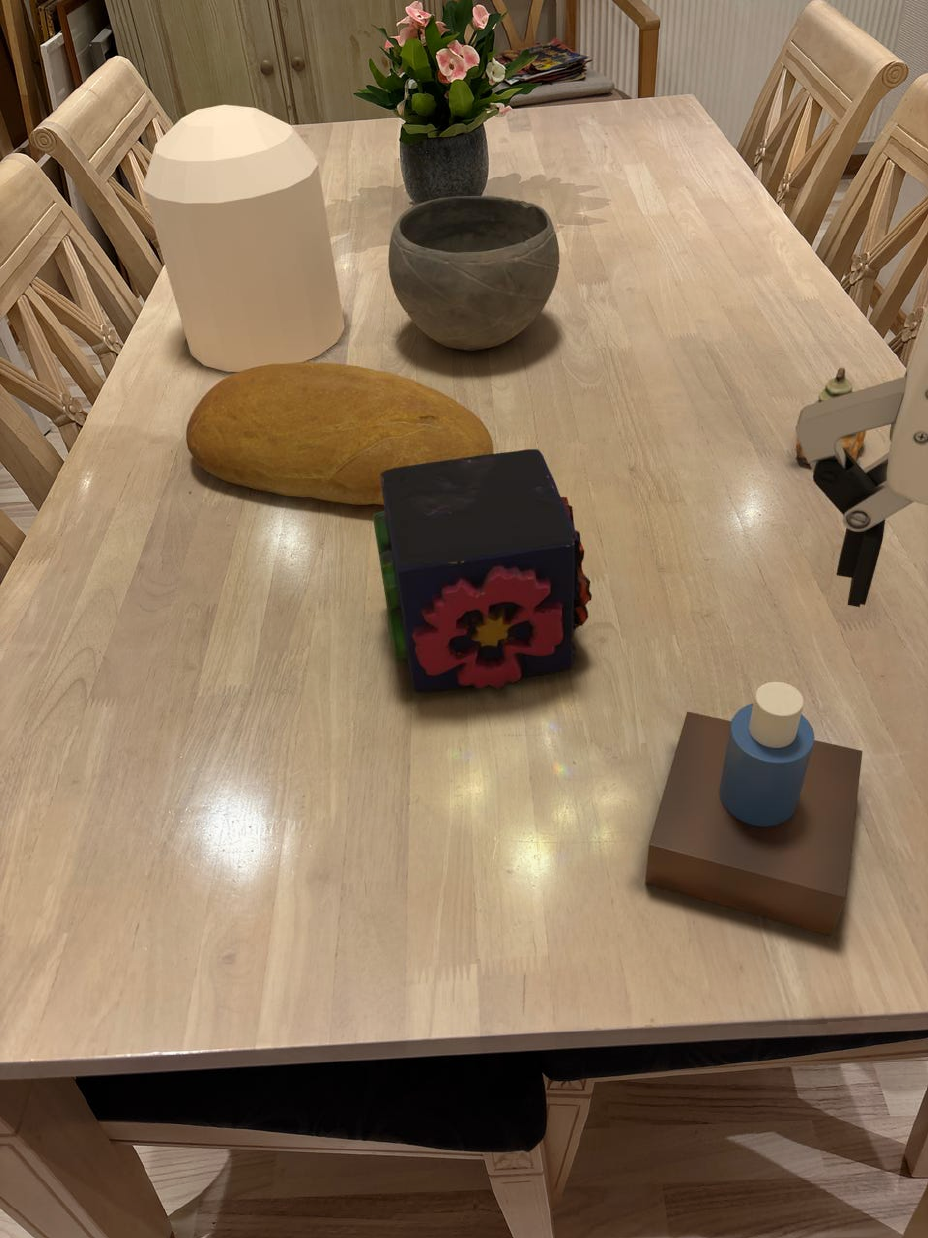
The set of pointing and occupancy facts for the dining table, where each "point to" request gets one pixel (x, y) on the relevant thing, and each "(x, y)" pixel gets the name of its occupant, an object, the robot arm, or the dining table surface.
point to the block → (756, 835)
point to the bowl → (473, 268)
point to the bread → (326, 430)
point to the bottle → (767, 756)
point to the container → (244, 239)
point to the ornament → (833, 390)
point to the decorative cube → (480, 570)
